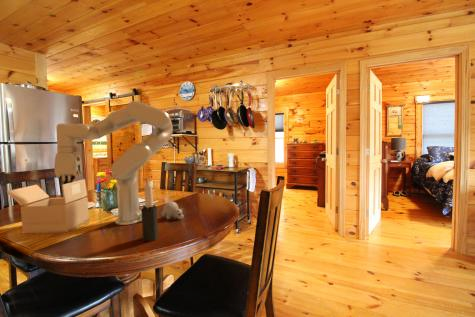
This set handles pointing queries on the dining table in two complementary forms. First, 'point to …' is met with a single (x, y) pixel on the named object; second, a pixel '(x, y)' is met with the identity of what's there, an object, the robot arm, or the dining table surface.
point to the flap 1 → (28, 194)
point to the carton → (54, 215)
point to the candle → (149, 215)
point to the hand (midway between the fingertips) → (68, 189)
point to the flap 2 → (74, 191)
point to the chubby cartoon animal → (172, 211)
